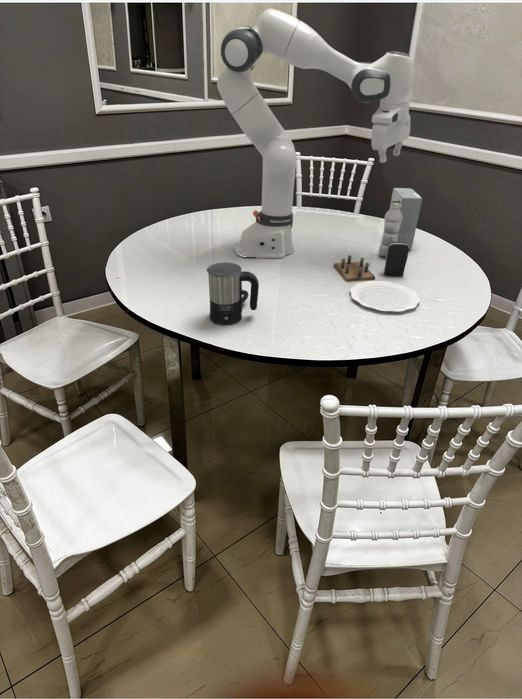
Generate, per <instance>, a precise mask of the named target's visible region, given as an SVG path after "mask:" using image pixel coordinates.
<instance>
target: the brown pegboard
mask: <svg viewBox="0 0 522 699" xmlns="http://www.w3.org/2000/svg"><path fill="white" fill-rule="evenodd" d="M352 256H353V255H351V254H348V256H347V261H346V258H341V262H334V263H333V268H334V269H335V270H336V271H337V272H338V274H340V276H341V277H342V278H343V280H344V281H345V282H348V283H349V282H362V281H364V282H366V281H376V275H375V274H374V273H373V272H371V270H369V266H370V263H369V262H365V263H364V260H365V258H364V257H360V259H359V261H352ZM364 264H365V265H364Z"/></svg>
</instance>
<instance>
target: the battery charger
mask: <svg viewBox="0 0 522 699" xmlns="http://www.w3.org/2000/svg"><path fill="white" fill-rule="evenodd" d="M409 252H410V251H409V246H408V245H407V244H406V243H405V242H390V243H389V244H388V246H387V250H386V255H385V256H386V257H385V263H384V267H383V271H382V272H383V276H387V277H404V274H405V269H406V264H407V261H408V257H409Z"/></svg>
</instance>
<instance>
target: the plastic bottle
mask: <svg viewBox="0 0 522 699" xmlns="http://www.w3.org/2000/svg"><path fill="white" fill-rule="evenodd" d="M401 204H402V202H400V201H392V202H391V201H390V205H389V210H388V211H386V213H385V214H384V220H383V222H384V224H383V233H382V238H381V241H380V245H379V247H378V253H379V255H380V256H381V257H383V258H386V256H385V255H386V250H387V246H388V244H389V243H390V242H397V238H398V233H399V229H400V226H401V223H402V219H403V215H402V212H401V211H400V208H401ZM390 207H391V209H390Z"/></svg>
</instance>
